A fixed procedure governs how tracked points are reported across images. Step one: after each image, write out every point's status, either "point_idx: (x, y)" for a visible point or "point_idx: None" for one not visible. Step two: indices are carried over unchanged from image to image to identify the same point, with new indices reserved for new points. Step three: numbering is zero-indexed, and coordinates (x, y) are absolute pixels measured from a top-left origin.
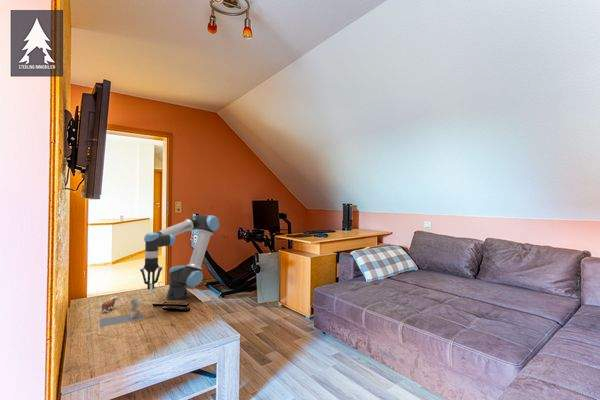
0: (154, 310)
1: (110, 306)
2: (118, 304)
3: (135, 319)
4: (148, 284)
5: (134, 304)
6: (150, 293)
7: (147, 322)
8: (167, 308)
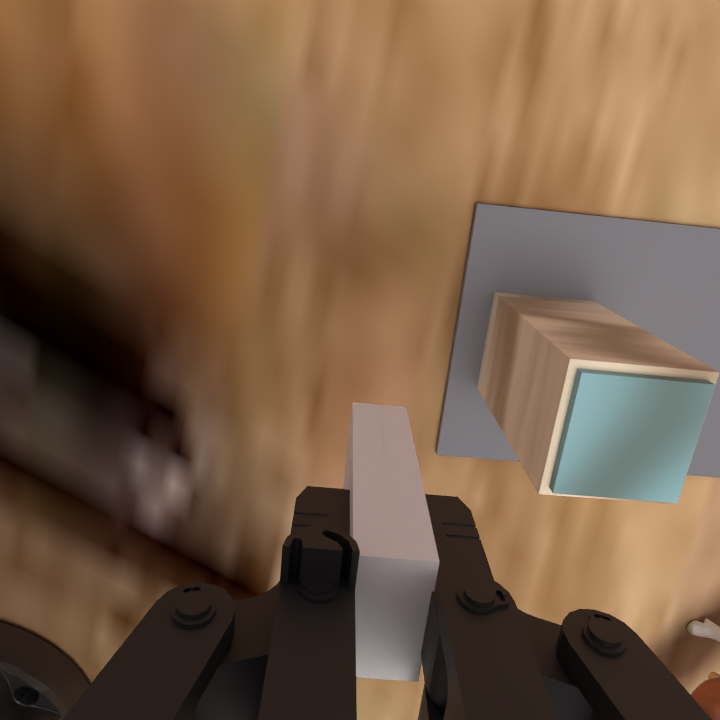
0: (288, 438)
1: (710, 682)
2: None
3: (552, 250)
4: (486, 580)
5: (637, 352)
6: (390, 419)
7: (452, 72)
8: (137, 419)
